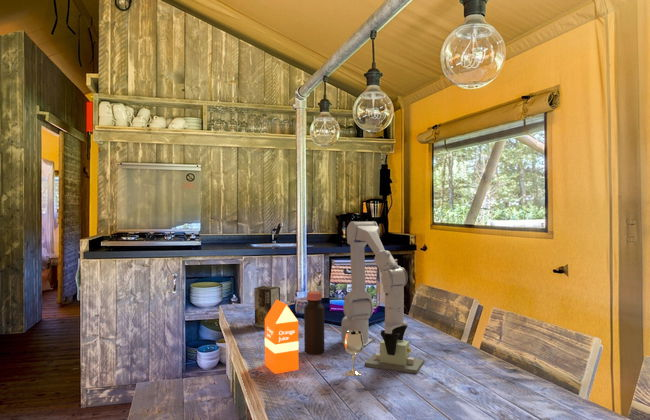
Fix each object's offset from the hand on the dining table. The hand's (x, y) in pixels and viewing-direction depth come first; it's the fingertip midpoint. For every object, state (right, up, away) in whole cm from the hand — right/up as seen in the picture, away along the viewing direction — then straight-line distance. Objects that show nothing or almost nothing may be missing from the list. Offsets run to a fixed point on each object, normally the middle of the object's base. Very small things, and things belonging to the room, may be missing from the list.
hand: (394, 351), depth 137 cm
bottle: (-25, -4, +12) cm, 28 cm away
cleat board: (0, -4, 0) cm, 4 cm away
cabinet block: (0, -3, 0) cm, 3 cm away
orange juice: (-35, -5, -2) cm, 35 cm away
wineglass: (-13, -4, -7) cm, 16 cm away
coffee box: (-45, -5, +46) cm, 64 cm away
